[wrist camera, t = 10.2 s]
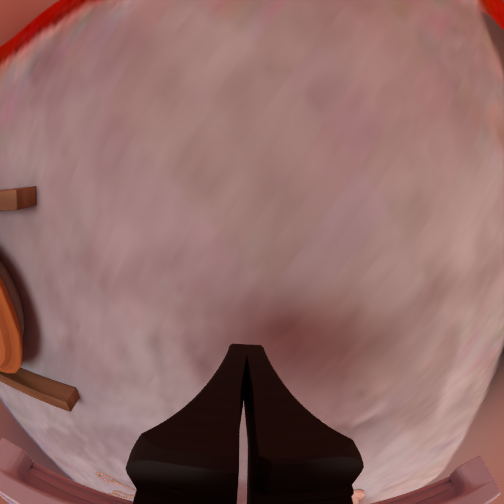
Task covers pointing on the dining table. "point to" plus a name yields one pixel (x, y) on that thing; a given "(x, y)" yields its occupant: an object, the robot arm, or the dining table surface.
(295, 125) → the dining table surface
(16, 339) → the pie
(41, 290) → the dining table surface
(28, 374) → the serving rack
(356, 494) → the candle
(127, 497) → the scissors
